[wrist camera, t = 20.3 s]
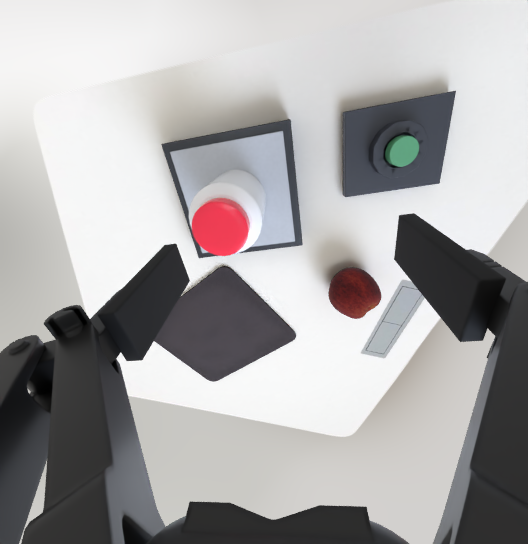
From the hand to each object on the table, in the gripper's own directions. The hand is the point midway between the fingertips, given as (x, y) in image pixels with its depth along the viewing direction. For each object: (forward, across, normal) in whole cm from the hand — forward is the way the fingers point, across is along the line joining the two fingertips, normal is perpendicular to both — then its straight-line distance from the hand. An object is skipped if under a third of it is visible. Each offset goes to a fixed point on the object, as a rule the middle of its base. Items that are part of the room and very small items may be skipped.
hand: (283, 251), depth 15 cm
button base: (+23, +14, +2) cm, 27 cm away
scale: (+23, -6, -1) cm, 24 cm away
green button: (+21, +14, +2) cm, 25 cm away
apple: (+23, +8, -18) cm, 31 cm away
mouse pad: (+23, -17, -27) cm, 39 cm away
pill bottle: (+20, -6, -1) cm, 21 cm away
